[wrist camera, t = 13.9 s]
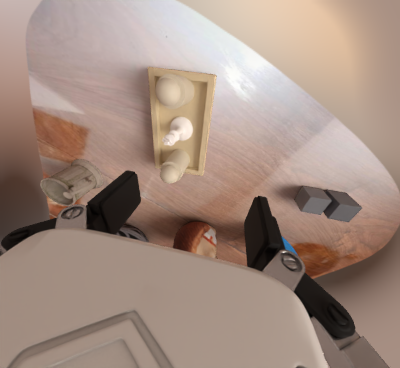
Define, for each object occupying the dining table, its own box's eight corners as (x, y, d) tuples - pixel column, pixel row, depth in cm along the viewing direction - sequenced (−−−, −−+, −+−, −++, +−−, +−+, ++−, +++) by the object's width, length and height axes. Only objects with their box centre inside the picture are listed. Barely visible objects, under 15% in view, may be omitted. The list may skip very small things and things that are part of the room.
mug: (86, 189, 49) (50, 215, 40) (65, 162, 45) (18, 184, 35) (121, 183, 45) (90, 210, 36) (102, 153, 41) (60, 174, 31)
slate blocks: (302, 185, 36) (312, 199, 32) (346, 193, 35) (362, 207, 31) (294, 199, 39) (302, 213, 34) (335, 206, 38) (348, 222, 33)
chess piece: (186, 144, 34) (173, 163, 26) (167, 132, 33) (147, 148, 25) (196, 124, 31) (185, 138, 23) (176, 111, 31) (156, 121, 22)
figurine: (220, 248, 55) (217, 295, 42) (178, 238, 56) (163, 282, 43) (230, 221, 47) (230, 270, 34) (180, 210, 48) (163, 254, 35)
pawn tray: (153, 68, 28) (117, 60, 19) (216, 75, 27) (210, 70, 18) (159, 163, 39) (138, 186, 30) (204, 171, 38) (196, 197, 30)
